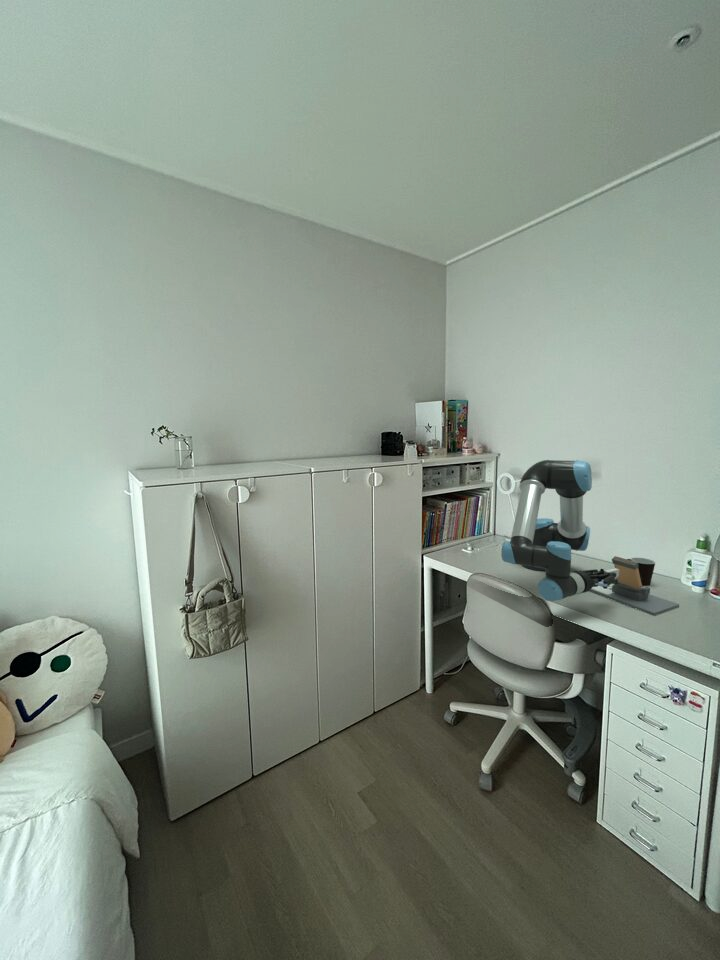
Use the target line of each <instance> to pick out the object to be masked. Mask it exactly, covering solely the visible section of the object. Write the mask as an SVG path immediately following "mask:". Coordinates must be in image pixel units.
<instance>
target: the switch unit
mask: <svg viewBox="0 0 720 960" xmlns="http://www.w3.org/2000/svg"><path fill="white" fill-rule="evenodd" d="M617 581H618V579H617V577H615V578H614V582H613V583H612V584H610V585H609V586H607V589H604V588H603V587H601V586H600V585H598V586H597V587H592V588H591V590H589V591H588V592H590V593H593V594H595V595H598V596H600V595H601V597H603V596H604V598H606V599H608V598H609V600H611V599H612V601H614V600H615V602H616V601H618V602H617V603H619V602H620V603H619V604H622V603H623V604H622V605H624V604H625V606H627V605H628V606H627V607H630V606H631V607H630V608H632V607H634V608H633V609H635V608H637V609H636V610H638V609H639V610H638V611H640V610H642V611H641V612H643V611H645V612H644V613H646V612H647V613H646V614H648V613H650V614H649V615H651V614H652V615H651V616H654V615H655V616H658V615H661V614H663V613H666V612H668V611H671V610H674V609H677V608H680V604H679V603H677V602H674V601H671V600H667V599H664V598H662V597H659V596H656V595H653V594H651V587H649V586H644V587H643V588H642V591H639V590H636V589H633V588H630V587H627V586H624V585H621V584H618V583H617ZM660 613H661V614H660ZM657 614H658V615H657Z"/></svg>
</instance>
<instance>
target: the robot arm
mask: <svg viewBox="0 0 720 960" xmlns="http://www.w3.org/2000/svg"><path fill="white" fill-rule="evenodd" d="M592 473H593V472H592V468H591V465H590V462H588V461H583V460H582V461H581V460H556V459H555V460H554V459H553V460H551V459H546V460H545V459H544V460H540V461H538V462H535V463H534V464H532V465H531V466H530V467H529V468H528V469H527V470H526V471H525V472H524V473H523V475H522V477H521V479H520V482H519V488H518V489H520V494H519V500H518V503H517V509H516V514H515V517H514V522H513V526H512V530H511V531H512V532H511V535H510V536H511V537H510V540H509V541H504V542H503V543H502V544H501V550H500V552H501V553H500V554H501V560H502V561H503V562H505V563H508V564H512V565H521V566H522V567H524V568H526V569H530V570H533V571H541V572H545V575H544V577H545V578H543V579H541V580H540V581H539V582H538V585H537V589H538V590H537V591H538V593H539V595H540V596H541V598H543V599H544V600H546V601H548V602H549V601H550V602H553V601H559V600H562V599H566V598H568V597H572V596H575V595H576V596H577V595H580V594H583V593H584V594H585V593H587V592H590V591H589V590H591V588H592V587H597V586H598V585H600V586H601V587H603V588H604V589H607V586H609V585H610V584H612V583H613V582H614V578H616V577H618V576H619V569H616V568H615V567H614V568H610V569H606V570H605V569H604V568H600V569H599V570H598V569H595V568H594V569H585V570H573V571H572V572H571V567H572V566H571V565H572V564H571V563H572V551H575V552H577V551H580V552H581V551H582V552H584V551H586V550H587V548H588V546H589V541H590V533H591V527H590V526H587V525H586V523H585V522H584V521H583V520H584V519H583V517H584V513H583V512H584V511H583V509H584V507H583V506H584V495H586V493H587V492H589V491H591V489H592V485H593V478H592V476H593V475H592ZM547 489H548V490H555V492H556V493H557V495H558V496H559V509H560V510H559V512H560V520H559V521H558V522H555V521H554V519H553V518H549V517H548V518H545V517H543V518H538V517H539V510H540V503H541V498H542V495H543V494H544V493H545V492H546V490H547Z"/></svg>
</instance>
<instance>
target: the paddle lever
mask: <svg viewBox="0 0 720 960" xmlns="http://www.w3.org/2000/svg"><path fill="white" fill-rule="evenodd" d="M627 559H628V558H623V557H619V556H616V555H615V556H613V557H612V558H611V562H612V564H613V566H614V568H616V569H619V576H618V577H617V579H618V581H617V583H618V584H621V585H624V586H627V587H630V588H633V589H636V590H639V591H642V588H644V586H642V583H641V579H640V575H639V570H638V567H639V565H638V562H635V561H631V560H627Z"/></svg>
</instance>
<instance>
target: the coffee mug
mask: <svg viewBox="0 0 720 960" xmlns="http://www.w3.org/2000/svg"><path fill="white" fill-rule="evenodd" d="M626 559H627V560H631V561H635V562H638V565H639V567H638V570H639V575H640V579H641V583H642V587H649V586H651V583H652V578H653V574H654V570H655V566H656V561H655V560H653V559H648V558H644V557H631V558H626Z"/></svg>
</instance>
